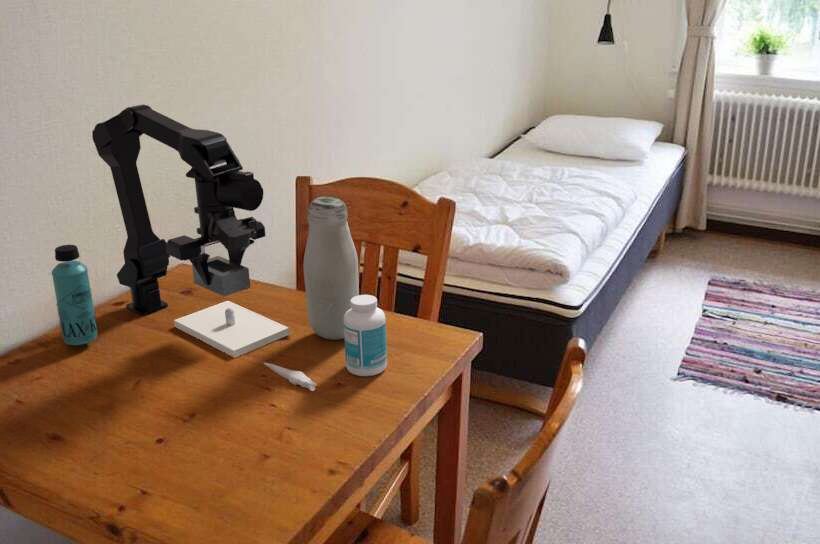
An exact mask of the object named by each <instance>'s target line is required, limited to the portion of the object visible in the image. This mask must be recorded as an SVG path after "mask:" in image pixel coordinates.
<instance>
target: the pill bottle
mask: <svg viewBox="0 0 820 544" xmlns="http://www.w3.org/2000/svg"><path fill="white" fill-rule="evenodd" d="M350 304H351V309H349V310H348V311H347V312H346V313H345V315H344V338H343V339H344V353H345V366H346V369H347V371H348V372H349V373H350V374H352V375H355V376H357V377H372V376H373V377H374V376H376V375H379V374H381V373H382V372H384V370H386V369H387V365H388V358H387V357H388V351H387V350H388V347H387V324H386V323H387V321H386V320H387V319H386V314H385V312H384V311H383V309H381V308H379V307H378V299H377V297H376V296H374V295H372V294H371V295H370V294H359V295H358V296H355V297H353V298H352V299H351V300H350Z"/></svg>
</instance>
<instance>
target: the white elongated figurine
mask: <svg viewBox="0 0 820 544" xmlns="http://www.w3.org/2000/svg"><path fill="white" fill-rule="evenodd" d="M263 365H264V366H266V367H268V368H269V369H270V370H272V371H274V372H275V373H276V374H277V375H279V376H281V377H283V378H284V379H286V380H288V381H289V382H290V383H291V384H293V385H294V386H298V385H299V386H300V387H302V388H307V389H309V390H310V391H312V392H314V391H316V386H317V385H318V383H317V382H314V381H312V379H311V378H310V377H308V376H307V375H306V374H305V373H304V372H303V371H299V370H291V369H288V368H285V367H282V366H279V365H276V364H273V363H268V362H263Z"/></svg>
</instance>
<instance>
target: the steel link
mask: <svg viewBox="0 0 820 544" xmlns="http://www.w3.org/2000/svg"><path fill="white" fill-rule="evenodd" d="M207 263H208V270H209V278H210V285H208V286H207V285H205V284H204V282H203V280H202V279H201V277H200V275H199V274H198V272H197V270H196V268H195V267H194V265H193V264H192V263H191V267H192V274H193V283H194V284H195V285H198V286H199V287H202V288H204V289H206V290H209V291H210V292H213V293H215V294H217V295H219V296H220V297H227V296H230V295H232V294H233V295H234V294H236V293H238V292H242V291H244V290H247V289H250V288H251V282H250V270H249V269H250V268H249V267H247V266H245V265H243V264H241V265H240V264H237V263H235V262H232V261H230V260H229V259H227V258H224V257H222V256H220V255H217V256H214V257H209V259H208V261H207Z"/></svg>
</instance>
